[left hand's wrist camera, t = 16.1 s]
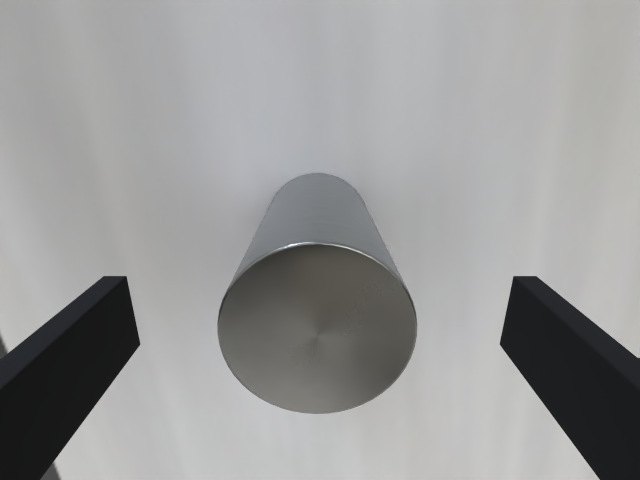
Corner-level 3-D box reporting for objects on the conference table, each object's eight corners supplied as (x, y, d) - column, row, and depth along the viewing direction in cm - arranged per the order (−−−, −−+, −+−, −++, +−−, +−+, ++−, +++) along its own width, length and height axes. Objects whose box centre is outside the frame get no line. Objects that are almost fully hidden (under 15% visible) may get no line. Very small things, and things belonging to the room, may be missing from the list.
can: (281, 160, 23) (239, 216, 11) (381, 189, 24) (449, 273, 11) (257, 255, 25) (200, 392, 13) (350, 279, 26) (379, 431, 14)
